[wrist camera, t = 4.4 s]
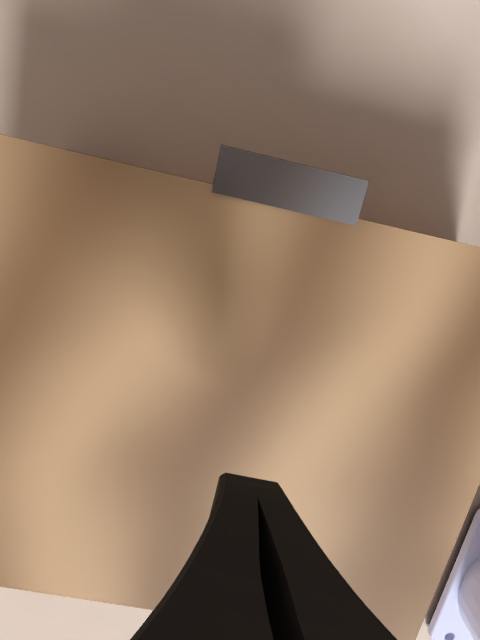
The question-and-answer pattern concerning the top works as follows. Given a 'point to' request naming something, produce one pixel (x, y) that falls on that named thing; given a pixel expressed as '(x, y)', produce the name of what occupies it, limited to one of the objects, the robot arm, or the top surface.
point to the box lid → (227, 374)
